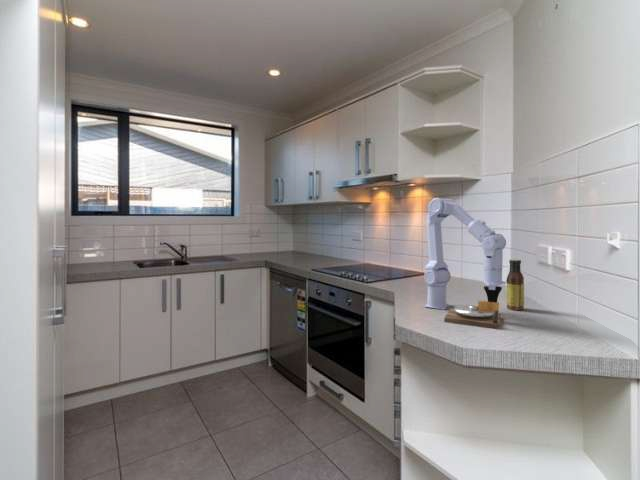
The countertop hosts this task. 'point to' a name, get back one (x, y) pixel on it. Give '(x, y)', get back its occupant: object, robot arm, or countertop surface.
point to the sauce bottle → (515, 286)
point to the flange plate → (471, 313)
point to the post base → (474, 319)
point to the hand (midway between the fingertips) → (492, 306)
